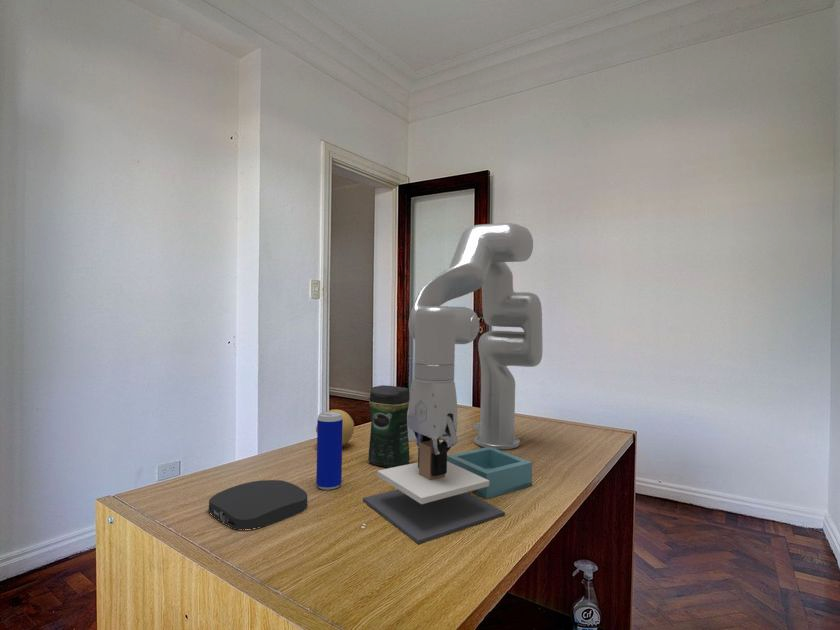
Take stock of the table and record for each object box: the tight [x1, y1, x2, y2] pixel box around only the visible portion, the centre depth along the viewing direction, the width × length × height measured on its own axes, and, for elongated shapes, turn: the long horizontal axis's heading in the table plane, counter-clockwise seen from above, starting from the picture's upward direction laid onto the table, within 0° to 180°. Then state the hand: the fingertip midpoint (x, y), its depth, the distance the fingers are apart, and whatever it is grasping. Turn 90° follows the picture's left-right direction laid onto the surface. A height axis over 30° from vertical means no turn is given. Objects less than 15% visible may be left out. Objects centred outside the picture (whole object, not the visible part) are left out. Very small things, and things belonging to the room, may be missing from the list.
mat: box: [362, 489, 506, 545], centre depth 84 cm, size 19×19×1 cm
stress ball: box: [315, 409, 355, 447], centre depth 120 cm, size 10×10×10 cm
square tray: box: [447, 447, 533, 500], centre depth 98 cm, size 13×13×5 cm
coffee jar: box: [368, 384, 410, 468], centre depth 109 cm, size 10×8×19 cm
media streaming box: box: [208, 479, 308, 530], centre depth 83 cm, size 15×15×3 cm
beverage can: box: [315, 411, 343, 491], centre depth 94 cm, size 5×5×15 cm
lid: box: [376, 439, 489, 504], centre depth 84 cm, size 15×15×7 cm
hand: (432, 470), depth 84 cm, fingers closed on lid, 3 cm apart
